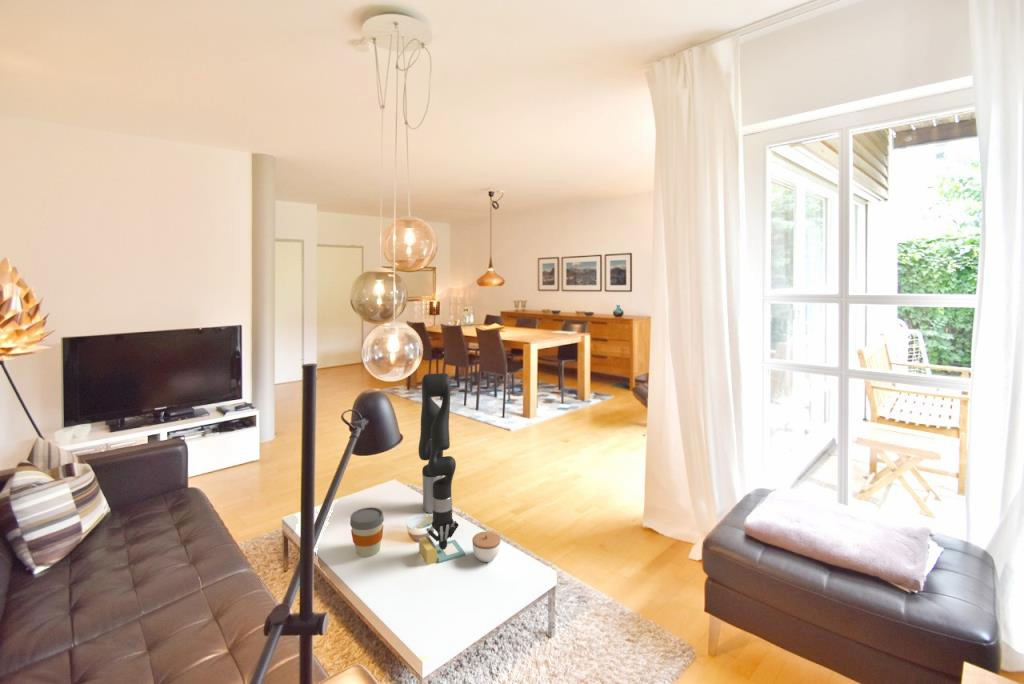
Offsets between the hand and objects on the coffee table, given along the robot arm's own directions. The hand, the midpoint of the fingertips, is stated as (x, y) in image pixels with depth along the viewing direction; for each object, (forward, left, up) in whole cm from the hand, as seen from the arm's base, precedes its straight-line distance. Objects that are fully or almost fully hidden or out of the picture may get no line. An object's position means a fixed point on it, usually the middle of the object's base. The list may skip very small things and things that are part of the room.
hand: (442, 548), depth 190 cm
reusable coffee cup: (-16, -25, -2) cm, 30 cm away
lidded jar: (+10, +14, -2) cm, 17 cm away
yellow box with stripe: (0, -6, -2) cm, 6 cm away
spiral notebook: (0, +2, -2) cm, 3 cm away
